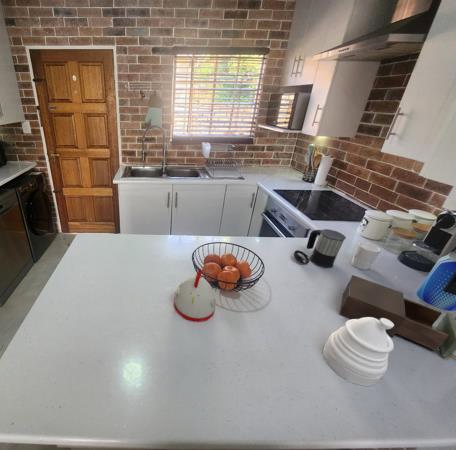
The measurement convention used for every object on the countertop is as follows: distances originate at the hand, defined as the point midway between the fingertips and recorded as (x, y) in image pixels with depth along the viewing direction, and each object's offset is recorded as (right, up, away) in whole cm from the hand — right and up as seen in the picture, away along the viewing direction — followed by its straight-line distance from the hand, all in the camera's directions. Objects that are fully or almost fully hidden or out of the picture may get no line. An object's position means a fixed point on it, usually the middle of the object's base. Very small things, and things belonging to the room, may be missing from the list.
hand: (447, 284), depth 70 cm
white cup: (+9, -2, +42) cm, 43 cm away
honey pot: (-29, -22, -1) cm, 36 cm away
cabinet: (-10, -14, +16) cm, 23 cm away
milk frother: (-11, 0, +43) cm, 44 cm away
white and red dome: (-70, -11, +16) cm, 72 cm away
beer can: (0, -7, +3) cm, 8 cm away
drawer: (+2, -18, +7) cm, 19 cm away
